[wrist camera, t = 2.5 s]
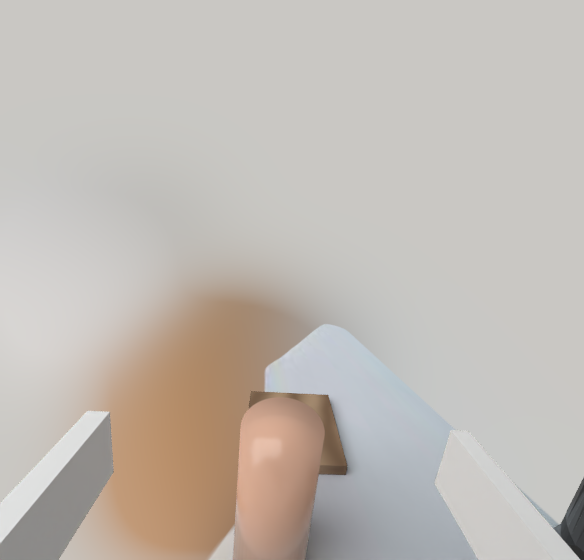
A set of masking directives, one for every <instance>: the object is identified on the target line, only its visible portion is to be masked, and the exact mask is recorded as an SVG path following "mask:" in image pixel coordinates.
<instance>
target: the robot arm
mask: <svg viewBox="0 0 584 560" xmlns="http://www.w3.org/2000/svg"><path fill="white" fill-rule="evenodd" d="M111 441H112V440H111V424H110V412H99V411H87V412H86V413H85V414H84V415H83V416H82V417H81V418H80V419H79V420H78V422H77V423H76V424H75V425H74V426H73V427H72V428H71V429H70V430H69V431H68V432H67V433H66V434H65V435H64V436H63V437H62V438H61V439H60V441H59V442H58V443H57V444H56V445H55V446H54V447H53V448H52V449H51V450H50V451H49V452H48V453H47V454H46V455H45V456H44V458H43V459H42V460H41V461H40V462H39V463H38V464H37V465H36V466H35V467H34V468H33V469H32V470H31V471H30V472H29V473H28V474H27V475H26V476H25V477H24V479H23V480H22V481H21V482H20V483H19V484H18V485H17V486H16V487H15V488H14V489H13V490H12V491H11V492H10V493H9V495H7V496H6V497H5V499H4V500H3V501H2V502H1V503H0V560H59V558H60V556H61V555H62V553H63V551H64V550H65V549H66V547H67V545H68V544H69V542H70V540H71V539H72V537H73V536H74V534H75V533H76V531H77V529H78V528H79V526H80V525H81V523H82V521H83V520H84V518H85V517H86V515H87V513H88V512H89V510H90V509H91V507H92V505H93V504H94V502H95V501H96V499H97V498H98V496H99V494H100V493H101V491H102V489H103V488H104V486H105V485H106V483H107V481H108V480H109V478H110V477H111V475H112V474H113V472H114V471H113V455H112V442H111ZM434 484H435V485H436V487H437V489H438V491H439V492H440V494H441V496H442V498H443V499H444V501H445V503H446V505H447V506H448V508H449V510H450V511H451V513H452V515H453V517H454V518H455V520H456V522H457V524H458V525H459V527H460V529H461V531H462V532H463V534H464V536H465V538H466V539H467V541H468V543H469V544H470V546H471V548H472V550H473V551H474V553H475V555H476V557H477V558H478V560H584V478H583V480H582V482H581V484H580V486H579V488H578V490H577V492H576V494H575V496H574V498H573V500H572V502H571V504H570V506H569V508H568V510H567V513H566V515H565V517H564V519H563V521H562V523H561V524H560V525H558V526H556V527H554V528H552V526H551V525H550V524H549V523H548V522H547V521H546V519H545V518H544V517H543V516H542V515H541V514H540V513H539V511H538V510H537V509H536V508H535V507H534V506H533V505H532V503H531V502H530V501H529V500H528V499H527V498H526V496H525V495H524V494H523V493H522V492H521V491H520V490H519V488H518V487H517V486H516V485H515V484H514V483H513V481H512V480H511V479H510V478H509V477H508V476H507V475H506V473H505V472H504V471H503V470H502V469H501V468H500V467H499V466H498V464H497V463H496V462H495V461H494V460H493V458H492V457H491V456H490V455H489V454H488V453H487V452H486V450H485V449H484V448H483V447H482V446H481V445H480V443H479V442H478V441H477V440H476V439H475V438H474V437H473V436H472V434H471V433H470V432H469V431H458V430H451V431H450V434H449V437H448V441H447V444H446V447H445V451H444V454H443V457H442V460H441V464H440V467H439V470H438V473H437V477H436V480H435V483H434Z"/></svg>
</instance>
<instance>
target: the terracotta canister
mask: <svg viewBox="0 0 584 560" xmlns="http://www.w3.org/2000/svg"><path fill="white" fill-rule="evenodd" d="M324 436H325V430H324V425H323V422H322V420H321V418H320V417H319V415H318V414H317V413H316V412H315V411H314V410H313V409H312V408H311V407H310V406H308V405H306V404H305V403H303V402H301V401H298V400H295V399H291V398H285V397H275V398H268V399H265V400H262V401H260V402H258V403H256V404H254V405H253V406H252V407H250V408H249V409H248V411H247V412H246V413H245V415H244V417H243V419H242V422H241V431H240V448H239V464H238V482H237V498H236V516H235V517H236V518H235V532H234V549H233V560H305V558H306V552H307V545H308V539H309V533H310V526H311V520H312V513H313V507H314V500H315V494H316V488H317V481H318V475H319V468H320V462H321V455H322V449H323V443H324Z"/></svg>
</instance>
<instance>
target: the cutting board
mask: <svg viewBox="0 0 584 560" xmlns="http://www.w3.org/2000/svg"><path fill="white" fill-rule="evenodd" d="M275 397H285V398H291V399H295V400H298V401H301V402H303V403H305V404H306V405H308V406H310V407H311V408H312V409H313V410H314V411H315V412H316V413H317V414H318V415H319V417H320V418H321V420H322V422H323V425H324V430H325V436H324V443H323V449H322V455H321V462H320V468H319V474H336V475H346V470H347V463H346V459H345V456H344V452H343V448H342V445H341V441H340V437H339V434H338V430H337V426H336V423H335V419H334V415H333V411H332V408H331V404H330V400H329V397H328V395H316V394H295V393H275V392H255V391H254V392H253V391H251V396H250V403H249V408H250V407H252V406H253V405H254V404H256V403H258V402H260V401H262V400H265V399H268V398H275Z"/></svg>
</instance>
